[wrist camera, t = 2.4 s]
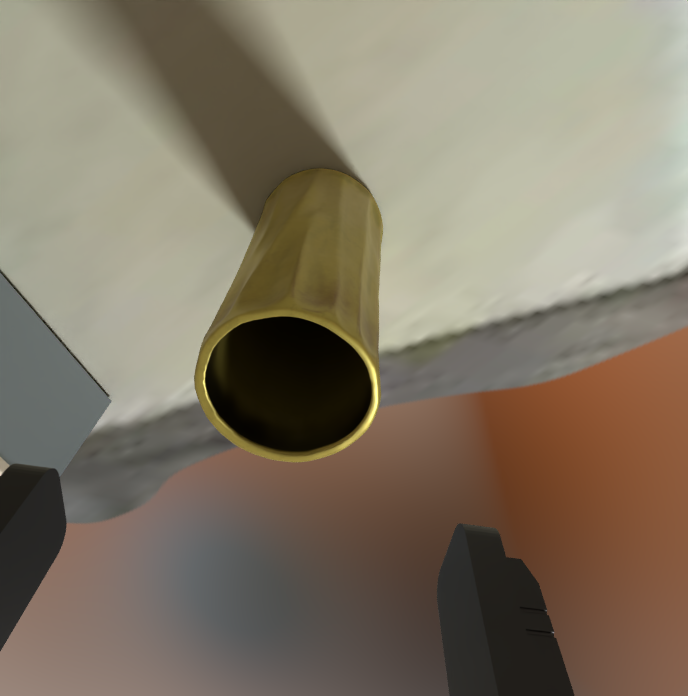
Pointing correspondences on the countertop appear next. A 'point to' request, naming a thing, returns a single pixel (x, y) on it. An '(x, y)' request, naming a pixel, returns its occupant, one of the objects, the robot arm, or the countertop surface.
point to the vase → (299, 325)
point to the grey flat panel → (40, 391)
